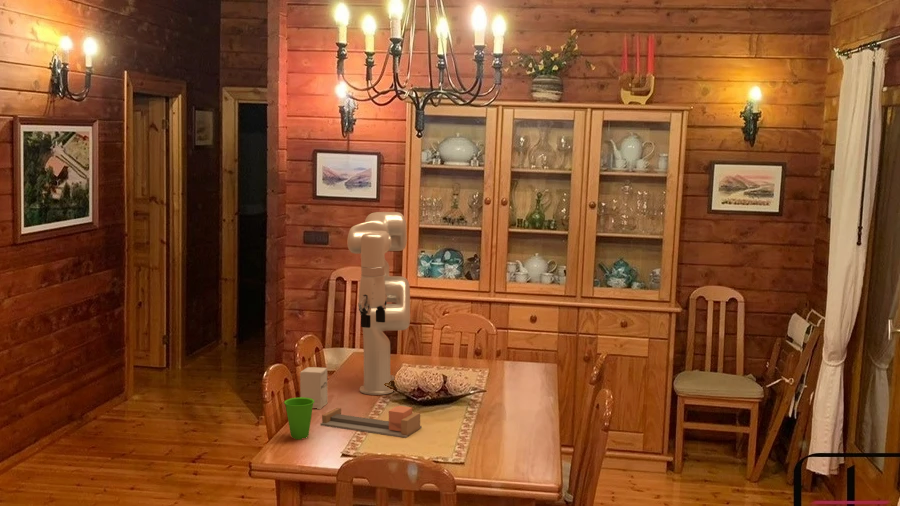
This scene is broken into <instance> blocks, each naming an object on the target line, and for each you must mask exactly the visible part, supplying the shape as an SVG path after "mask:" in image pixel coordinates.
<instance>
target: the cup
mask: <svg viewBox="0 0 900 506" xmlns="http://www.w3.org/2000/svg"><path fill="white" fill-rule="evenodd" d="M314 402H315V401H314V400H313V399H311V398H305V397H300V396H299V397H298V396H297V397H291V398H288V399H286V400H284V401H283V404H284V405H285V410H286V415H287V421H288V427H289V433H290V437H291V438H292V437H293V438H295V439H294V440H303V439H302V438H305V439H307V438H308V437H309V435H310V430H311V429H310V428H311V422H312V421H311V420H312V414H313V409H312V408H313V403H314ZM306 437H307V438H306ZM293 438H292V439H293Z"/></svg>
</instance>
